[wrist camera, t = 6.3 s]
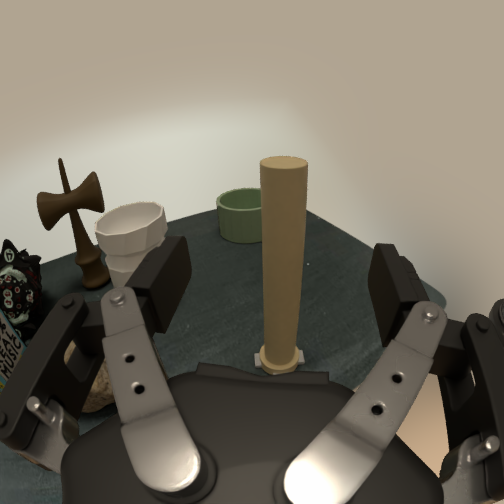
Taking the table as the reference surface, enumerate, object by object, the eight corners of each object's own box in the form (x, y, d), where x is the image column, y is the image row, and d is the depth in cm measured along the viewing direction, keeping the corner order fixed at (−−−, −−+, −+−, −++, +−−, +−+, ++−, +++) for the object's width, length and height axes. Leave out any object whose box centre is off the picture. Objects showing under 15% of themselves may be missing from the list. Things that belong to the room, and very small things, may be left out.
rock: (122, 322, 29) (105, 311, 22) (149, 392, 27) (139, 404, 20) (49, 344, 26) (16, 339, 18) (73, 413, 24) (45, 426, 16)
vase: (115, 290, 38) (90, 216, 32) (167, 269, 42) (151, 195, 36) (131, 328, 32) (98, 244, 26) (192, 301, 36) (174, 217, 30)
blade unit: (299, 340, 30) (313, 152, 19) (306, 377, 26) (334, 172, 15) (253, 343, 30) (243, 154, 19) (256, 382, 26) (244, 175, 15)
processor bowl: (281, 219, 55) (281, 190, 51) (267, 247, 47) (267, 213, 43) (231, 214, 58) (229, 186, 54) (210, 239, 49) (206, 207, 46)
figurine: (-4, 315, 32) (-18, 355, 22) (-9, 227, 30) (-34, 242, 20) (47, 316, 39) (46, 357, 28) (45, 229, 37) (37, 245, 26)
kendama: (128, 280, 40) (93, 149, 29) (72, 301, 36) (24, 174, 25) (121, 262, 45) (91, 145, 34) (71, 280, 40) (31, 166, 30)
